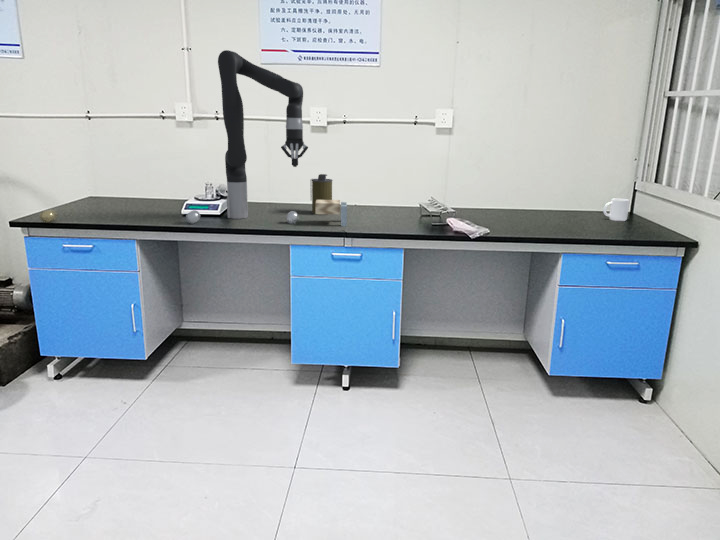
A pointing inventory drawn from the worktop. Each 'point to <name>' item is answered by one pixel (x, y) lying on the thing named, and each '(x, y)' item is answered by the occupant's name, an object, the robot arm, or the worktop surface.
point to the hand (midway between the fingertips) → (294, 166)
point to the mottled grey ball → (292, 217)
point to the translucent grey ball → (193, 216)
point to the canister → (321, 190)
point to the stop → (343, 214)
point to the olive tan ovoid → (48, 215)
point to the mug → (617, 209)
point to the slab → (327, 207)
